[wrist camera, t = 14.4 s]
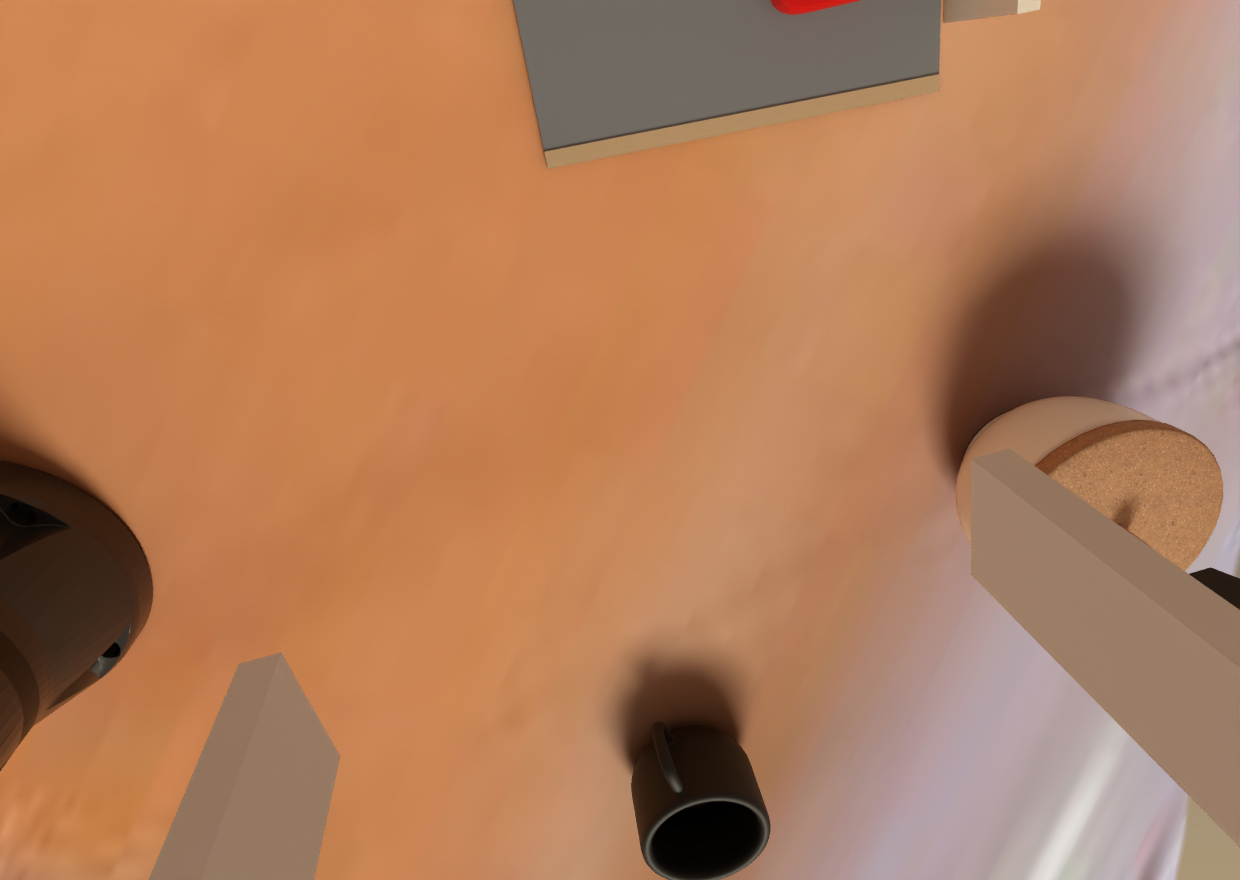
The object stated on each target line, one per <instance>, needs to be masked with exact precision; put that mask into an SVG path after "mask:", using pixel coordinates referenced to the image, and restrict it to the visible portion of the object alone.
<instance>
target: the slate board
mask: <svg viewBox="0 0 1240 880" xmlns="http://www.w3.org/2000/svg"><path fill="white" fill-rule="evenodd" d="M513 2H514V7H515V12H516V17H517V22H518V26H519V31H520V36H521V41H522V46H523V51H524V56H525V61H526V66H527V71H528V76H529V80H530V85H531V90H532V95H533V100H534V105H535V110H536V115H537V120H538V125H539V129H540V134H541V139H542V144H543V149H544V154H545V159H546V164H547V168H548V169H550V168H555V167H560V166H565V165H570V164H575V163H580V162H585V161H590V160H595V159H601V158H606V157H611V156H616V155H621V154H626V153H631V152H636V151H641V150H646V149H651V148H656V147H661V146H666V145H671V144H676V143H682V142H687V141H692V140H697V139H702V138H707V137H712V136H717V135H722V134H727V133H732V132H737V131H742V130H747V129H752V128H757V127H763V126H768V125H773V124H778V123H783V122H788V121H793V120H798V119H803V118H808V117H813V116H818V115H823V114H828V113H833V112H838V111H844V110H849V109H854V108H859V107H864V106H869V105H874V104H879V103H884V102H889V101H894V100H899V99H904V98H909V97H914V96H919V95H925V94H930V93H935V92H940V74H939V54H940V8H941V0H860V1H857V2H852V3H848V4H844V5H839V6H835V7H831V8H827V9H822V10H818V11H814V12H809V13H804V14H796V15H789V14H785V13H781V12H779V11H778V10H777V9H776V8H775V7H773V5H772V3H771V1H770V0H513Z"/></svg>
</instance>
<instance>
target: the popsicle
mask: <svg viewBox="0 0 1240 880" xmlns="http://www.w3.org/2000/svg"><path fill="white" fill-rule="evenodd" d="M770 1H771V3H772V5H773V7H775V8H776V9H777V10H778V11H779V12H781V13H785V14H789V15H796V14H804V13H809V12H814V11H818V10H822V9H827V8H831V7H835V6H839V5H844V4H848V3H852V2H857V1H860V0H770Z"/></svg>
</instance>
